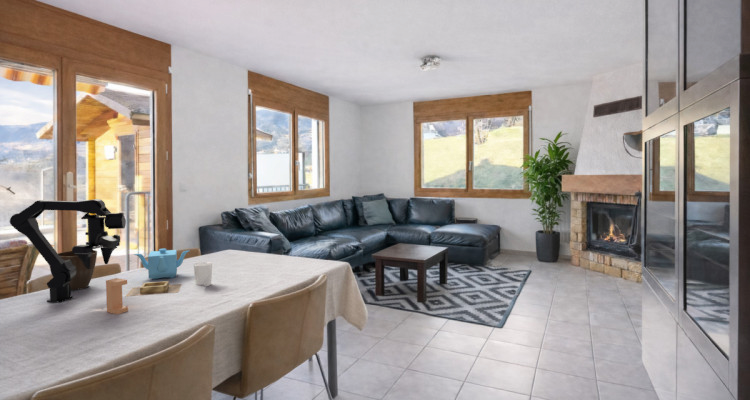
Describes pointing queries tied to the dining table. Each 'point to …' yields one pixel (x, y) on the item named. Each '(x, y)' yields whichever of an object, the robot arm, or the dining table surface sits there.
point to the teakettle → (162, 263)
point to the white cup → (203, 273)
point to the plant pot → (80, 269)
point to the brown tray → (154, 289)
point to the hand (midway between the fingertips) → (97, 266)
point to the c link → (115, 296)
